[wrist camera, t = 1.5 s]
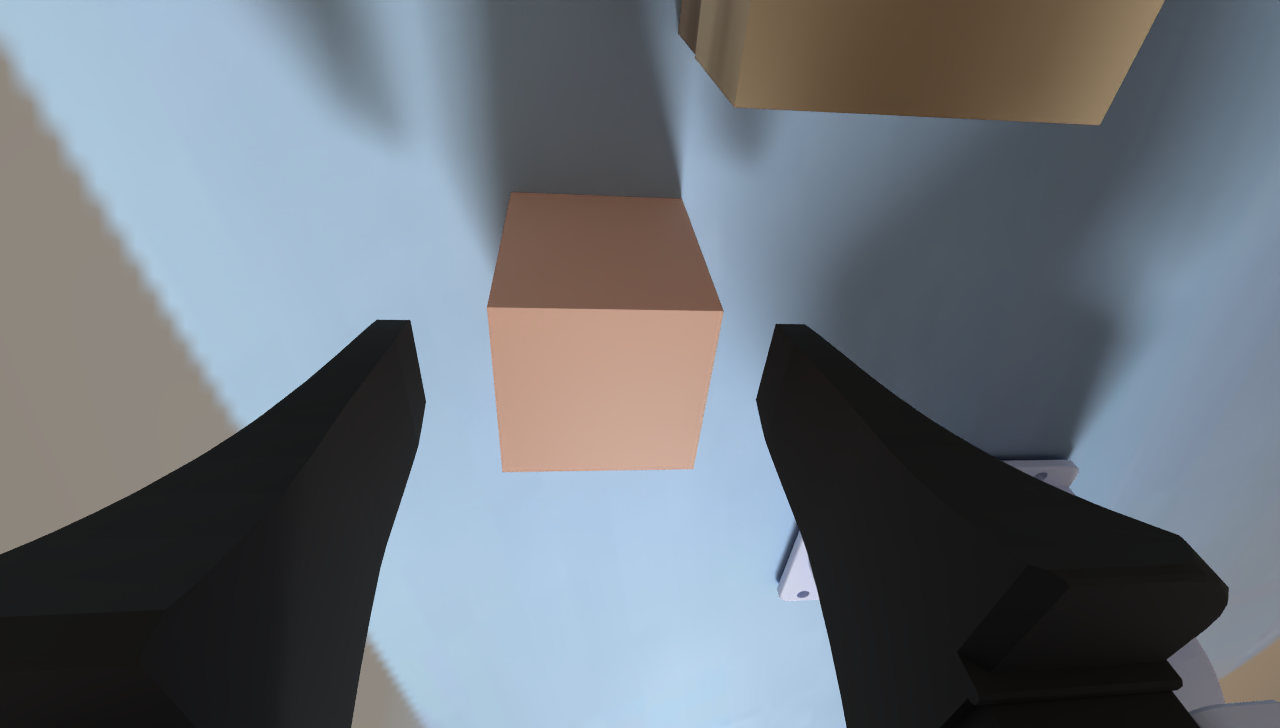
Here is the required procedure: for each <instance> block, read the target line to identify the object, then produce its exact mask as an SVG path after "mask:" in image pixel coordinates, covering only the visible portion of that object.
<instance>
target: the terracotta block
mask: <svg viewBox="0 0 1280 728" xmlns="http://www.w3.org/2000/svg"><path fill="white" fill-rule="evenodd" d="M487 312H488V323H489V333H490V344H491V354H492V365H493V375H494V386H495V397H496V407H497V418H498V428H499V439H500V450H501V460H502V471H503V472H541V471H603V470H665V469H693V468H694V463H695V457H696V452H697V447H698V442H699V437H700V431H701V426H702V421H703V416H704V411H705V405H706V400H707V395H708V390H709V385H710V379H711V374H712V369H713V364H714V359H715V353H716V348H717V343H718V338H719V333H720V327H721V322H722V317H723V312H724V311H723V308H722V306H721V303H720V300H719V297H718V295H717V292H716V289H715V287H714V284H713V281H712V279H711V276H710V273H709V271H708V268H707V265H706V262H705V260H704V257H703V254H702V252H701V249H700V246H699V244H698V241H697V238H696V236H695V233H694V230H693V227H692V225H691V222H690V219H689V217H688V214H687V211H686V209H685V206H684V203H683V201H682V199H678V198H652V197H626V196H601V195H575V194H549V193H523V192H511V195H510V200H509V205H508V210H507V215H506V219H505V224H504V229H503V234H502V238H501V243H500V248H499V253H498V258H497V262H496V267H495V272H494V277H493V281H492V286H491V291H490V296H489V301H488V305H487Z"/></svg>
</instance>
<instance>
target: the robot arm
mask: <svg viewBox="0 0 1280 728" xmlns="http://www.w3.org/2000/svg"><path fill="white" fill-rule="evenodd" d="M756 402H757V406H758V411H759V416H760V421H761V425H762V429H763V433H764V437H765V441H766V444H767V447H768V449H769V452H770V455H771V457H772V460H773V463H774V465H775V468H776V471H777V473H778V476H779V479H780V481H781V484H782V486H783V489H784V491H785V494H786V497H787V499H788V502H789V504H790V507H791V509H792V512H793V515H794V517H795V520H796V522H797V525H798V527H799V530H800V531H799V533H798V536H797V539H796V541H795V544H794V546H793V549H792V551H791V554H790V557H789V559H788V562H787V564H786V567H785V570H784V572H783V575H782V577H781V580H780V582H779V585H778V588H777V591H778V594H779V597H780V598H781V599H782V600H785V601H799V600H820V604H821V608H822V612H823V617H824V621H825V625H826V629H827V633H828V638H829V642H830V646H831V651H832V656H833V661H834V665H835V670H836V675H837V680H838V684H839V689H840V694H841V699H842V705H843V710H844V716H845V721H846V727H847V728H1280V702H1278V701H1275V700H1265V701H1252V702H1240V703H1228V704H1225V701H1224V697H1223V694H1222V690H1221V687H1220V684H1219V682H1218V679H1217V676H1216V674H1215V671H1214V669H1213V667H1212V665H1211V663H1210V661H1209V659H1208V657H1207V655H1206V653H1205V652H1204V650H1203V648H1202V647H1201V645H1200V644H1199V642H1198V640H1197V639H1196V638H1195V637H1196V636H1198V635H1199V634H1200V633H1201V632H1203V631H1204V630H1205V629H1207V628H1208V627H1209V626H1210V625H1211V624H1212V623H1213V622H1214V621H1215V620H1216V619H1217V618H1218V617H1220V615H1221V614H1222V612H1223V610H1224V609H1225V607H1226V606H1227V603H1228V591H1229V588H1228V586H1227V585H1226V584H1225V583H1224V582H1223V581H1222V580H1221V579H1220V578H1219V577H1218V575H1217V574H1216V573H1215V572H1214V571H1213V570H1212V569H1211V568H1210V567H1209V566H1208V565H1207V564H1206V563H1205V561H1204V560H1203V559H1202V558H1201V557H1200V556H1199V555H1198V554H1197V553H1196V552H1195V551H1194V550H1193V549H1192V548H1191V546H1190V545H1189V544H1188V543H1187V542H1186V541H1185V540H1184V539H1183V538H1182V537H1180V536H1179V535H1177V534H1174V533H1171V532H1168V531H1166V530H1163V529H1160V528H1158V527H1155V526H1152V525H1149V524H1147V523H1144V522H1141V521H1139V520H1136V519H1133V518H1131V517H1128V516H1125V515H1122V514H1120V513H1117V512H1114V511H1112V510H1109V509H1106V508H1104V507H1101V506H1099V505H1096V504H1094V503H1091V502H1089V501H1087V500H1084V499H1082V498H1080V497H1077V496H1076V495H1075V494H1074V493H1073V492H1072V491H1071V489H1070V488H1069V486H1070V485H1071V483H1072V482H1073V481H1074V480H1075V478H1076V477H1077V475H1078V473H1079V468H1078V467H1077V466H1076V465H1075V464H1074V463H1073V462H1072V461H1071V460H1015V461H1001V460H999V459H997V458H995V457H993V456H991V455H989V454H988V453H986V452H984V451H982V450H980V449H979V448H977V447H975V446H973V445H971V444H970V443H968V442H966V441H965V440H963V439H961V438H960V437H958V436H956V435H955V434H953V433H951V432H950V431H948V430H946V429H945V428H943V427H941V426H940V425H938V424H937V423H935V422H934V421H932V420H931V419H929V418H927V417H926V416H924V415H923V414H921V413H920V412H919V411H917V410H916V409H914V408H913V407H912V406H910V405H909V404H907V403H906V402H904V401H903V400H902V399H900V398H899V397H897V396H896V395H895V394H893V393H892V392H891V391H889V390H888V389H887V388H885V387H884V386H883V385H881V384H880V383H879V382H877V381H876V380H875V379H873V378H872V377H871V376H870V375H868V374H867V373H866V372H865V371H863V370H862V369H861V368H859V367H858V366H857V365H856V364H854V363H853V362H852V361H851V360H850V359H848V358H847V357H846V356H845V355H843V354H842V353H841V352H840V351H838V350H837V349H836V348H835V347H834V346H832V345H831V344H830V343H829V342H827V341H826V340H825V339H824V338H822V337H821V336H820V335H818V334H817V333H816V332H815V331H813V330H812V329H810V328H809V327H808V326H806V325H805V324H776V325H775V329H774V333H773V337H772V341H771V344H770V348H769V352H768V356H767V360H766V363H765V367H764V371H763V375H762V379H761V383H760V386H759V390H758V394H757V398H756ZM425 404H426V400H425V394H424V389H423V384H422V379H421V373H420V368H419V363H418V358H417V353H416V347H415V342H414V337H413V332H412V327H411V321H410V320H376V321H375V322H374V323H372V324H371V325H370V326H369V327H368V328H367V329H365V330H364V331H363V332H362V333H361V334H360V335H359V336H357V337H356V338H355V339H354V340H353V341H352V342H351V343H350V344H349V345H347V346H346V347H345V348H344V349H343V350H342V351H341V352H340V353H338V354H337V355H336V356H335V357H334V358H333V359H331V360H330V361H329V362H328V363H327V364H326V365H324V366H323V367H322V368H321V369H320V370H319V371H317V372H316V373H315V374H314V375H313V376H312V377H310V378H309V379H308V380H307V381H306V382H304V383H303V384H302V385H301V386H299V387H298V388H297V389H295V390H294V391H293V392H292V393H290V394H289V395H288V396H286V397H285V398H284V399H282V400H281V401H280V402H279V403H277V404H276V405H275V406H273V407H272V408H271V409H270V410H268V411H267V412H266V413H264V414H263V415H262V416H260V417H259V418H258V419H256V420H255V421H253V422H252V423H250V424H249V425H248V426H246V427H245V428H243V429H242V430H240V431H239V432H237V433H236V434H234V435H233V436H231V437H230V438H228V439H227V440H225V441H223V442H222V443H220V444H219V445H217V446H216V447H214V448H212V449H211V450H210V451H208V452H206V453H204V454H203V455H201V456H200V457H198V458H196V459H195V460H193V461H191V462H189V463H188V464H186V465H184V466H182V467H180V468H179V469H177V470H175V471H173V472H171V473H169V474H168V475H166V476H164V477H162V478H161V479H159V480H157V481H155V482H153V483H152V484H150V485H148V486H146V487H144V488H143V489H141V490H139V491H137V492H135V493H133V494H131V495H130V496H128V497H125V498H123V499H121V500H119V501H117V502H115V503H113V504H111V505H110V506H107V507H105V508H103V509H101V510H99V511H98V512H95V513H94V514H91V515H89V516H87V517H85V518H82V519H80V520H78V521H76V522H74V523H72V524H70V525H68V526H65V527H63V528H61V529H59V530H57V531H55V532H53V533H50V534H48V535H45V536H43V537H41V538H39V539H37V540H34V541H32V542H30V543H27V544H25V545H22V546H20V547H17V548H15V549H13V550H10V551H8V552H5V553H3V554H0V728H351V724H352V718H353V712H354V706H355V699H356V694H357V688H358V681H359V675H360V669H361V664H362V659H363V653H364V648H365V642H366V637H367V632H368V626H369V621H370V616H371V611H372V606H373V601H374V596H375V591H376V586H377V582H378V577H379V572H380V567H381V564H382V560H383V556H384V553H385V549H386V545H387V542H388V539H389V536H390V533H391V530H392V527H393V524H394V521H395V517H396V514H397V511H398V508H399V505H400V502H401V499H402V496H403V493H404V490H405V487H406V483H407V480H408V477H409V474H410V471H411V468H412V465H413V461H414V458H415V455H416V452H417V448H418V445H419V439H420V434H421V428H422V422H423V416H424V410H425Z"/></svg>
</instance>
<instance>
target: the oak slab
mask: <svg viewBox="0 0 1280 728" xmlns="http://www.w3.org/2000/svg"><path fill="white" fill-rule="evenodd" d="M1164 1H1165V0H701V8H700V17H699V26H698V35H697V44H696V53H695V59H696V60H697V61H698V62H699V64H700V65H701V66H702V67H703V69H704V70H705V71H706V72H707V74H708V75H709V76H710V78H711V79H712V80H713V81H714V83H715V84H716V85H717V86H718V88H719V89H720V90H721V91H722V93H723V94H724V95H725V96H726V98H727V99H728V100H729V102H730V103H731V104H732V105H733V107H734V108H755V109H775V110H796V111H817V112H837V113H858V114H878V115H899V116H919V117H940V118H961V119H981V120H1002V121H1022V122H1043V123H1064V124H1084V125H1100V124H1101V122H1102V120H1103V118H1104V116H1105V114H1106V112H1107V111H1108V109H1109V107H1110V105H1111V103H1112V101H1113V99H1114V97H1115V95H1116V93H1117V91H1118V89H1119V88H1120V86H1121V84H1122V82H1123V80H1124V78H1125V76H1126V74H1127V72H1128V70H1129V68H1130V66H1131V64H1132V63H1133V61H1134V59H1135V57H1136V55H1137V53H1138V51H1139V49H1140V47H1141V45H1142V43H1143V41H1144V39H1145V38H1146V36H1147V34H1148V32H1149V30H1150V28H1151V26H1152V24H1153V22H1154V20H1155V18H1156V16H1157V14H1158V13H1159V11H1160V9H1161V7H1162V5H1163V3H1164Z"/></svg>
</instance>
